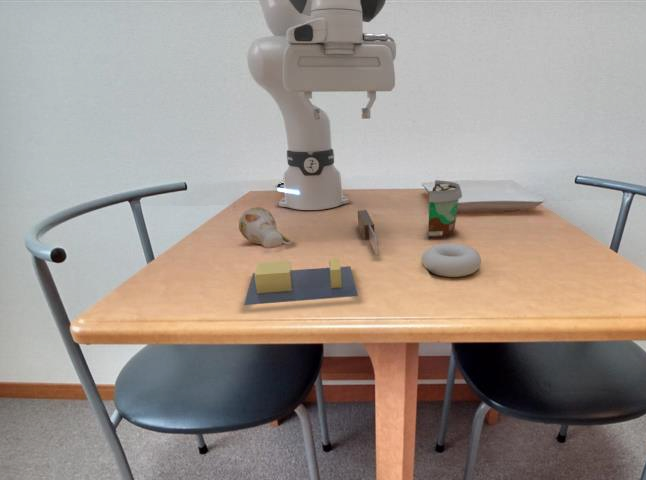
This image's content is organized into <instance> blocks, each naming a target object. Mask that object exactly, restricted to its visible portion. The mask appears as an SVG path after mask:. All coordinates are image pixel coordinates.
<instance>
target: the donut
mask: <svg viewBox="0 0 646 480" xmlns="http://www.w3.org/2000/svg"><path fill="white" fill-rule="evenodd" d="M421 263H422V266H423V267H424V268H425V269H426V271H428V272H430V273H431V274H433V275H437V276H439V277H447V278H459V277H465V276H469V275H472V274H474V273H475V272H477V271H478V269H479V268H480V266H481V263H482V258H481V255H480V253H479V252H478V251H477V250H476V249H475V248H473V247H470V246H468V245H464V244H459V243H440V244H435V245H432V246H430V247H428V248H427V249H425V250H424V251H423V253H422V256H421Z"/></svg>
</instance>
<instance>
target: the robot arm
mask: <svg viewBox="0 0 646 480" xmlns="http://www.w3.org/2000/svg"><path fill="white" fill-rule="evenodd" d="M258 1H259V4H260V7H261V10H262V14H263V18H264V20H265V24H266V26H267V28H268V29H269V31H270V33H271V34H272V35H271V36H265V37H264V36H263V37H261V38H255V39H254V40H253V41H252V42H251V44H250V45H249V48H248V51H247V56H246V62H247V68H248V71H249V74H250V75H251V78H252V79H253V81H254V82H255V83H256V85H258V86H259V87H261V88H262V89H263V90H265V92H267V93H268V95H270V96H271V97H272V99H273V100H274V101H275V103H276V105H277V106H278V108H279V110H280V113H281V115H282V118H283V122H284V123H283V124H284V127H285V135H286V142H287V150H286V160H287V165H288V168H287V169H286V170H285V172H284V173H283V176H282V177H283V178H282V179H283V181H282V182H284V183H281V182H280V183H281V184H279V183H278V184H277V186H276V189H277V192H280V193H284V197H283V198H281V200H279V201H278V207H281V208H289V209H293V210H297V211H298V210H301V211H319V210H320V211H321V210H327V209H332V208H337V207H339V206H341V205H346V204H350V199H349V198H348V197H347V196H345V195H344V194H343V190H342V189H343V187H342V176H341V171H339V169H337V167H336V166H335V165H334V164H335V153H334V149H333V148H332V132H331V131H332V130H331V121H330V118H329V116H328V114H327V112H325V110H323V109H322V108H320V107H318V106H317V105H314V104H313V103H312V101H311V100H312V99H313V93H315V92H316V93H319V92H320V93H321V92H323V93H325V92H328V93H329V92H330V93H331V92H332V93H333V92H344V93H345V92H347V93H348V92H366V97H367V99H368V102H367V104H366V106H365V107H361V109H360V110H361V119H363V120H365V119H368V120H369V119H371V109H372V107H373V105H374V103H375V101H376V99H377V92H392V91H393V89H394V88H395V86H396V71H395V64H394V61H395V59H396V57H397V45H396V41H395V40H394V39H393V38H392V37H391V36H389V35H388V34H387V33H371V32H370V33H366V32H364V28H363V27H364V26H363V25H364V23H370V22H372V20H374V19H375V18H376V17H377V16H378V15H379V14H380V12H381V11H382V9H383V8H384V6H385V4H386V1H387V0H258ZM363 22H364V23H363ZM281 186H283V188H281Z"/></svg>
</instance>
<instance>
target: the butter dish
mask: <svg viewBox="0 0 646 480" xmlns="http://www.w3.org/2000/svg"><path fill="white" fill-rule="evenodd" d="M292 267H293V266H292V260H290V259H289V260H276V261H275V260H274V261H261V262H257V264H256V268H255V271H254V272H252V275H251V278H250V282H249V286H248V289H247V293H246V296H245V300H244V303H243V306H250V305H251V306H252V305H264V304H277V303H278V304H279V303H289V302H290V303H291V302H303V301H315V300H325V299H326V300H327V299H328V300H329V299H339V298H340V299H341V298H352V297H359V295H358V290H357V286H356V283H355V278H354V276H353V271H352V267H351V266H350V265H349V266H340V270H341V288H331V277H330V267H320V268H305V269H292Z"/></svg>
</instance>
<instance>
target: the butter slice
mask: <svg viewBox="0 0 646 480" xmlns="http://www.w3.org/2000/svg"><path fill="white" fill-rule="evenodd" d="M328 261H329V268H330V277H331V288H341V270H340V267H341V264H340V258H339V257H329V259H328Z"/></svg>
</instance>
